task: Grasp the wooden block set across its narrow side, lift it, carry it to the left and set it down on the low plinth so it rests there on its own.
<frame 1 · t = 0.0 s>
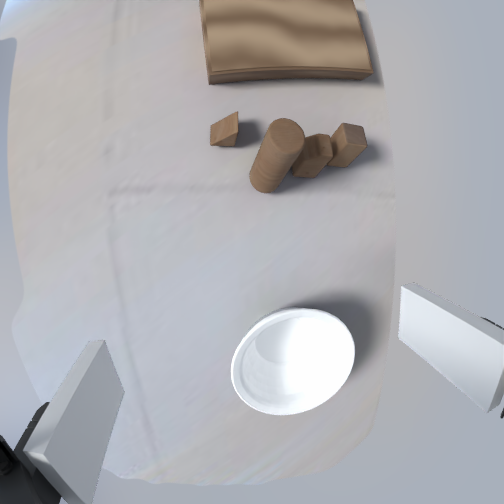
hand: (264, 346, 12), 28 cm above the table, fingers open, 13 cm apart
wooden block set: (280, 156, 38), on the table
plinth: (283, 36, 34), on the table
bowl: (280, 336, 44), on the table
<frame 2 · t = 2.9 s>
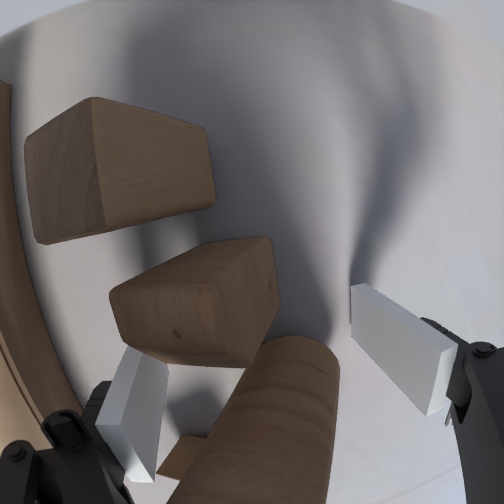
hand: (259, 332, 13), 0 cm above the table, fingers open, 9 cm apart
wooden block set: (220, 331, 14), on the table, touching gripper
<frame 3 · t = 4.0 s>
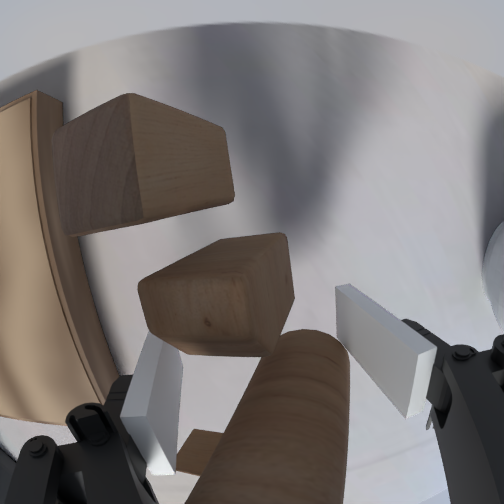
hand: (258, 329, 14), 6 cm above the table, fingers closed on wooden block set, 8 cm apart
wooden block set: (234, 325, 14), point 5 cm above the table, touching gripper
plinth: (11, 277, 17), on the table
when the fingers open (6 cm above the table, at t = 7.7 s): wooden block set drops 1 cm, resting on plinth.
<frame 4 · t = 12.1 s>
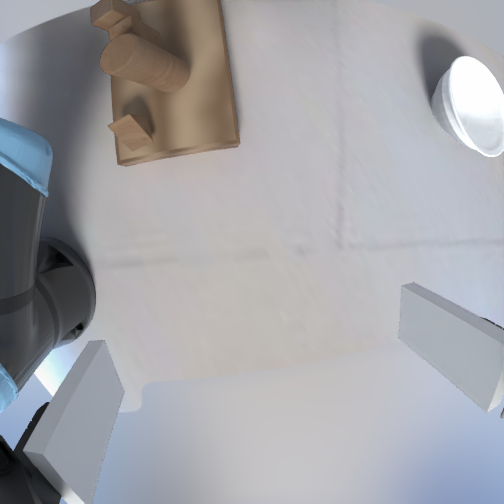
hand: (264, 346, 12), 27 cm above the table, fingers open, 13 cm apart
wooden block set: (145, 72, 29), point 3 cm above the table, touching plinth
plinth: (171, 74, 33), on the table
bowl: (448, 112, 39), on the table
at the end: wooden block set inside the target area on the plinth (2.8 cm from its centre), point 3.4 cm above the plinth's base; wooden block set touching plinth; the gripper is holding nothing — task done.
